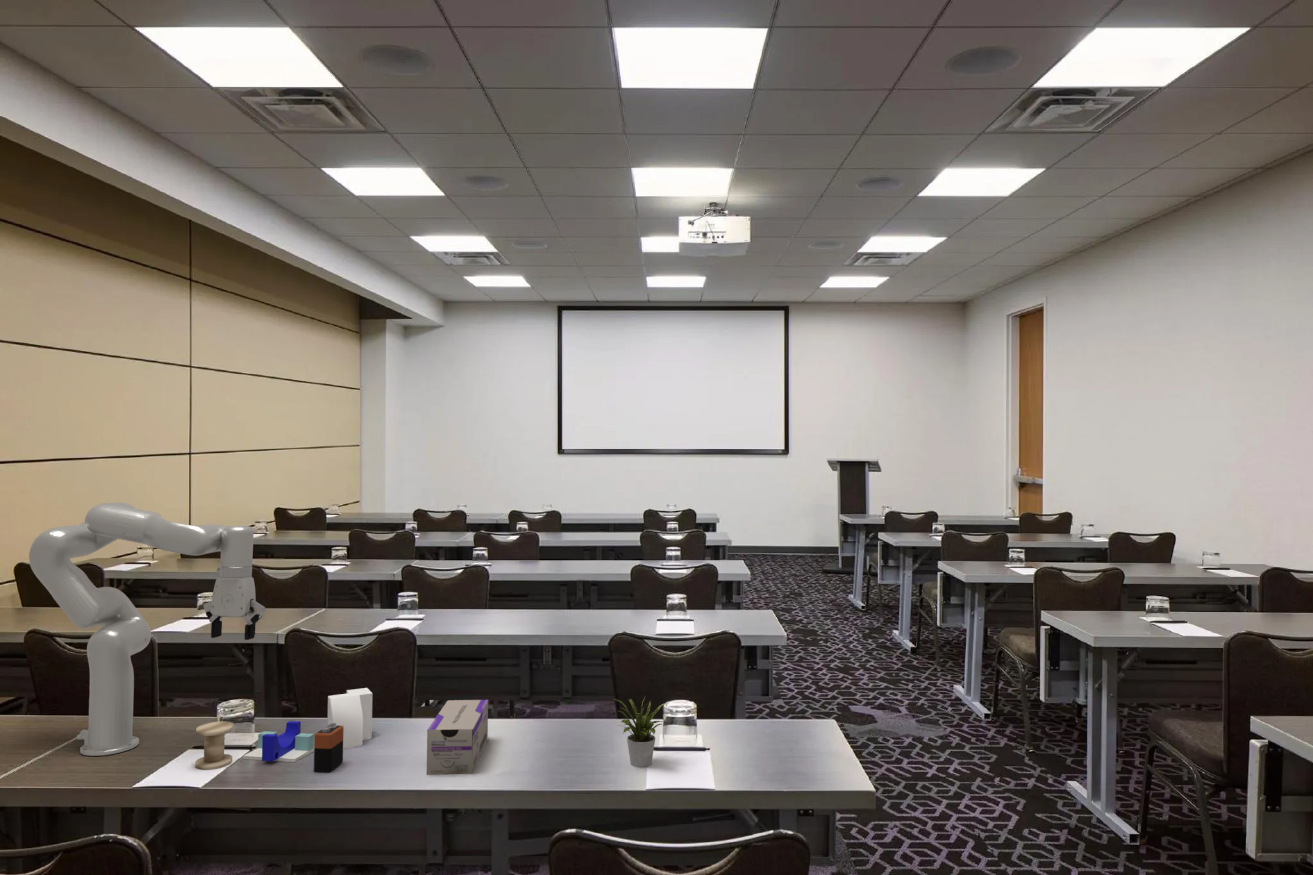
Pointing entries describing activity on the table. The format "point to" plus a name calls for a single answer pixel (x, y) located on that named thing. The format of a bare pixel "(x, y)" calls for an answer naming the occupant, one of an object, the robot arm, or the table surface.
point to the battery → (328, 748)
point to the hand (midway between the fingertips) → (232, 637)
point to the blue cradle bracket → (280, 742)
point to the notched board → (302, 748)
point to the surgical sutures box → (457, 737)
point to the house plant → (640, 735)
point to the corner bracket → (352, 715)
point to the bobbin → (214, 745)
